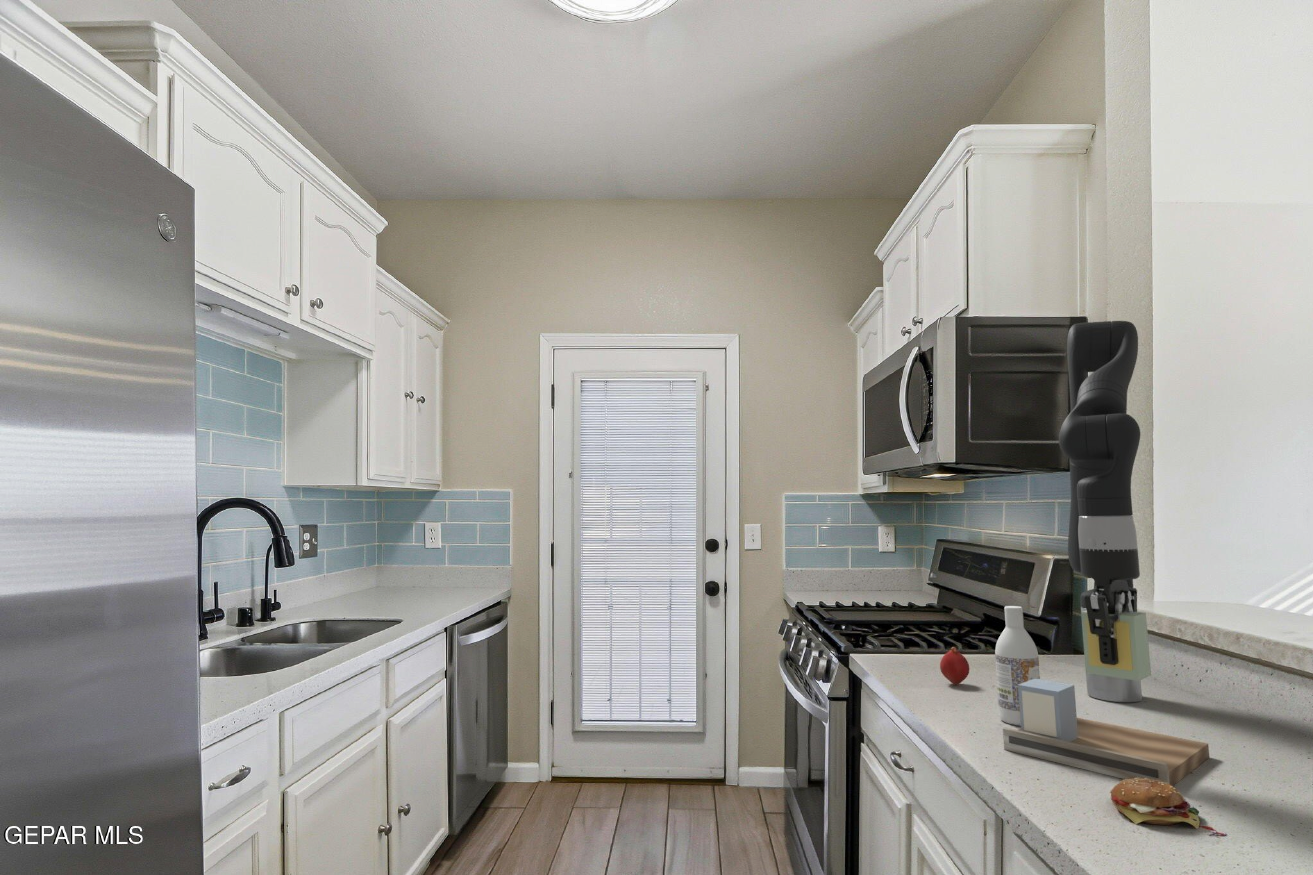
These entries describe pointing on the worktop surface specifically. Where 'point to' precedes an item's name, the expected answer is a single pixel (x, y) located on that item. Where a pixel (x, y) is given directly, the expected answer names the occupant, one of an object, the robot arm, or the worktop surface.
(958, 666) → the onion
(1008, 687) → the bath foam
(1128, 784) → the hamburger
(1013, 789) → the worktop surface
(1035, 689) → the box
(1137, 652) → the tea box
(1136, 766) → the wooden slab
